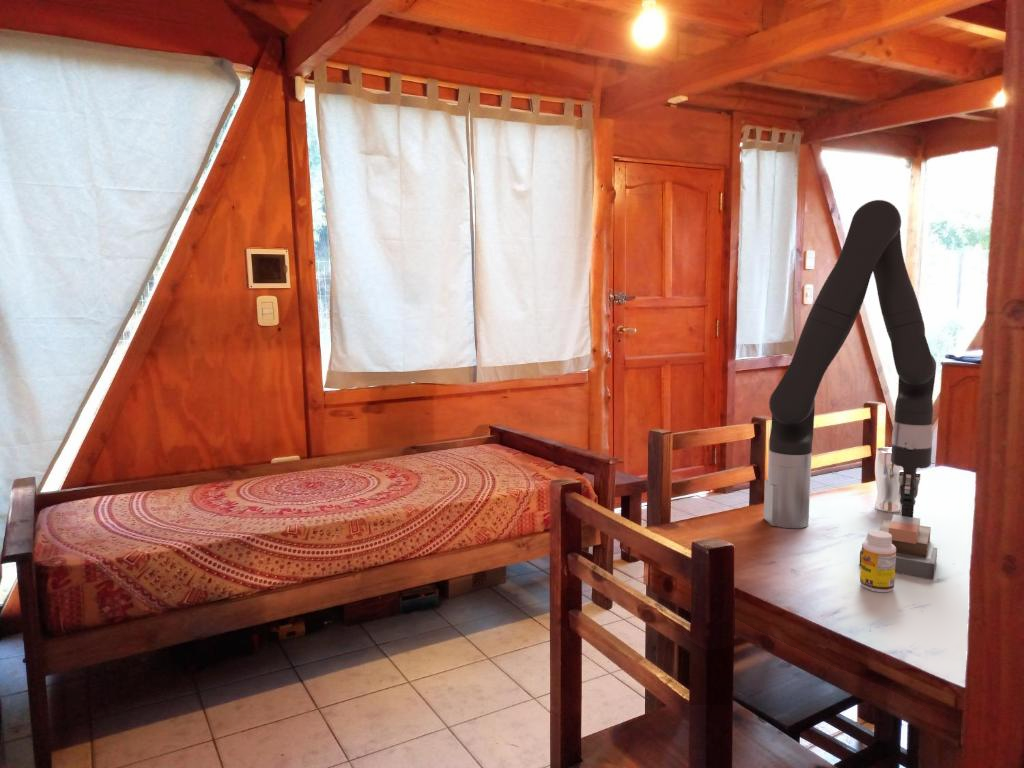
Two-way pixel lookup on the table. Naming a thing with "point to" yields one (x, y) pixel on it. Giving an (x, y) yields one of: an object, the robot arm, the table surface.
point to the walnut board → (910, 548)
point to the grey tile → (907, 520)
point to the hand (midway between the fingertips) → (906, 521)
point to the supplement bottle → (878, 562)
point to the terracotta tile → (903, 532)
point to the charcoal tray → (915, 564)
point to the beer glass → (887, 482)
